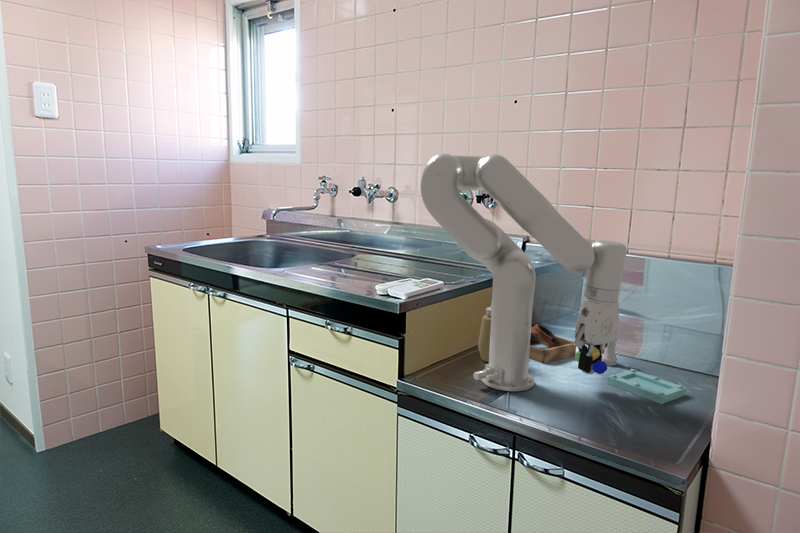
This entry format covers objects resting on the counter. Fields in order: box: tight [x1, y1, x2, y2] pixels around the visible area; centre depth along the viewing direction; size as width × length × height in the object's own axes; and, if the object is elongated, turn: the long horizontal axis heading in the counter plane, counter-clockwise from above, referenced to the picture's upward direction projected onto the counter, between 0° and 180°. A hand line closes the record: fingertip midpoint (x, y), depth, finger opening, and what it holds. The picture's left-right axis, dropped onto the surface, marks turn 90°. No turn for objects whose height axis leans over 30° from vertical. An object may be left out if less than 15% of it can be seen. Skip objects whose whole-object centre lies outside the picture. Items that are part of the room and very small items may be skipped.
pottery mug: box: [530, 323, 556, 349], centre depth 156 cm, size 12×10×8 cm
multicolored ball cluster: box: [574, 347, 608, 375], centre depth 127 cm, size 8×3×6 cm, turn 33°
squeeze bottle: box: [477, 302, 492, 363], centre depth 145 cm, size 8×8×18 cm
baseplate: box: [607, 368, 687, 405], centre depth 129 cm, size 10×14×2 cm
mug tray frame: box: [529, 335, 577, 364], centre depth 155 cm, size 14×16×4 cm
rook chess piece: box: [601, 337, 618, 367], centre depth 146 cm, size 4×4×8 cm
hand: (588, 369), depth 127 cm, fingers closed on multicolored ball cluster, 2 cm apart
